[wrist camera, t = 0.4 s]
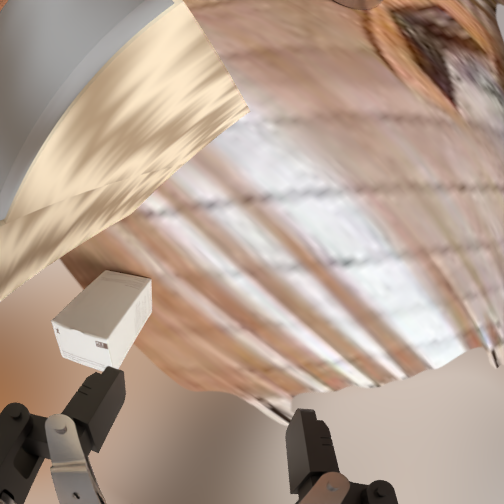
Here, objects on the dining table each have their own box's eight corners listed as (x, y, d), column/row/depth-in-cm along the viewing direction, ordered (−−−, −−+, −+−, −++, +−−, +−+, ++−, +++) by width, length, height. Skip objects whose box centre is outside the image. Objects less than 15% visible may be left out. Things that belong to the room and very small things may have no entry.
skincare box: (109, 300, 40) (59, 358, 26) (105, 266, 38) (47, 320, 24) (155, 311, 40) (114, 379, 26) (154, 276, 38) (105, 341, 24)
